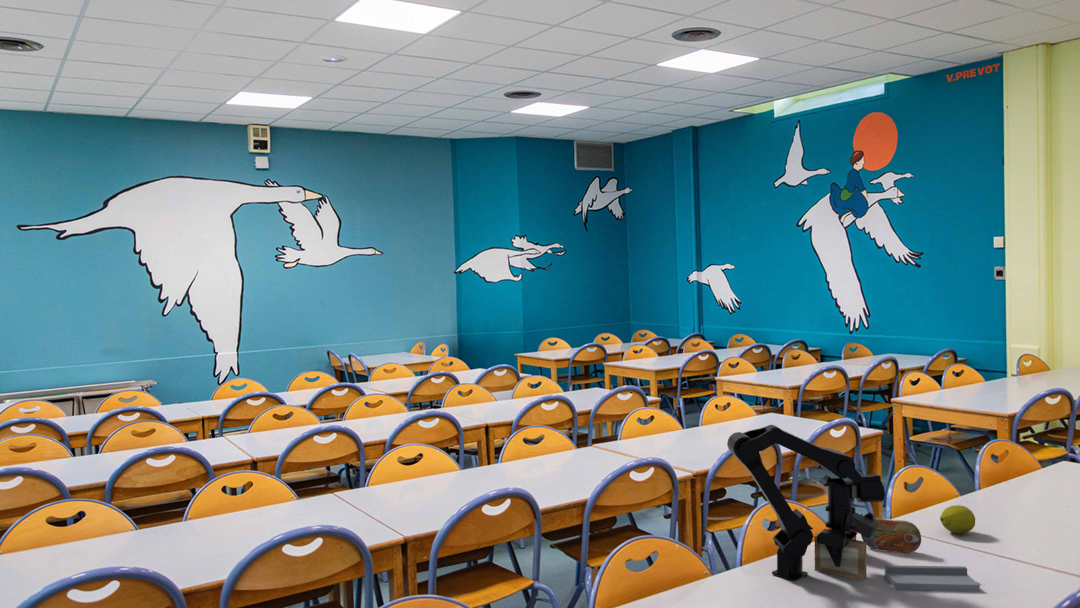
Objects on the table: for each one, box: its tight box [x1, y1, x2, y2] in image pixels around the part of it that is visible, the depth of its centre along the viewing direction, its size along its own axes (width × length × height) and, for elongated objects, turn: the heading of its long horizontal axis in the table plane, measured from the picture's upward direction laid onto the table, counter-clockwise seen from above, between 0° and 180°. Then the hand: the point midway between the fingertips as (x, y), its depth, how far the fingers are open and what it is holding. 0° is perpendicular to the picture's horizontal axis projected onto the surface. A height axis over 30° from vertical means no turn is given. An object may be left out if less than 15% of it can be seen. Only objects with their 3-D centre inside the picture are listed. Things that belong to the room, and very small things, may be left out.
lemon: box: [939, 504, 976, 535], centre depth 230 cm, size 11×8×8 cm
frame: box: [814, 532, 867, 581], centre depth 201 cm, size 2×12×9 cm, turn 55°
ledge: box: [884, 564, 980, 592], centre depth 193 cm, size 8×19×3 cm, turn 85°
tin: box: [860, 517, 922, 554], centre depth 217 cm, size 15×3×8 cm, turn 62°
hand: (840, 563), depth 201 cm, fingers open, 4 cm apart
